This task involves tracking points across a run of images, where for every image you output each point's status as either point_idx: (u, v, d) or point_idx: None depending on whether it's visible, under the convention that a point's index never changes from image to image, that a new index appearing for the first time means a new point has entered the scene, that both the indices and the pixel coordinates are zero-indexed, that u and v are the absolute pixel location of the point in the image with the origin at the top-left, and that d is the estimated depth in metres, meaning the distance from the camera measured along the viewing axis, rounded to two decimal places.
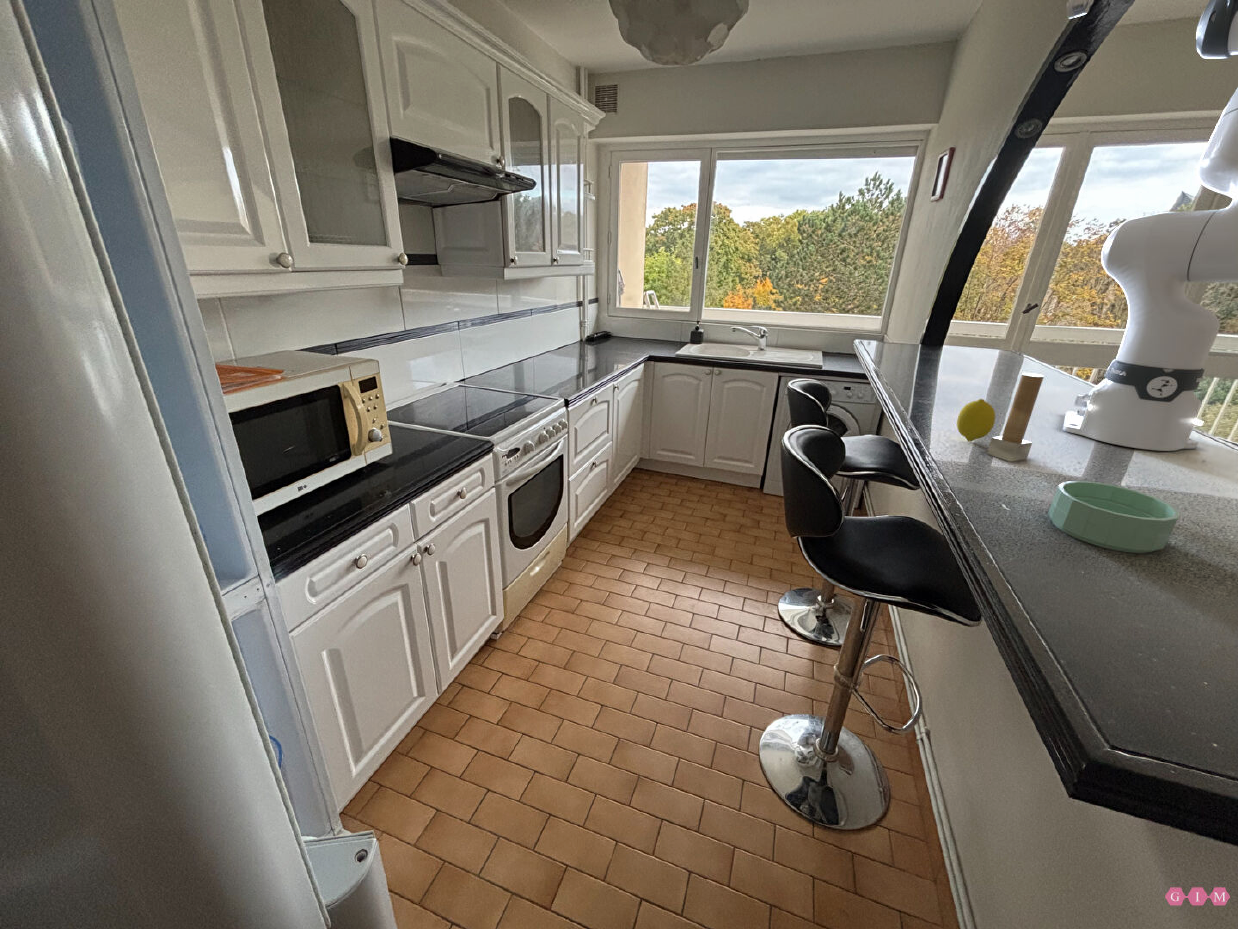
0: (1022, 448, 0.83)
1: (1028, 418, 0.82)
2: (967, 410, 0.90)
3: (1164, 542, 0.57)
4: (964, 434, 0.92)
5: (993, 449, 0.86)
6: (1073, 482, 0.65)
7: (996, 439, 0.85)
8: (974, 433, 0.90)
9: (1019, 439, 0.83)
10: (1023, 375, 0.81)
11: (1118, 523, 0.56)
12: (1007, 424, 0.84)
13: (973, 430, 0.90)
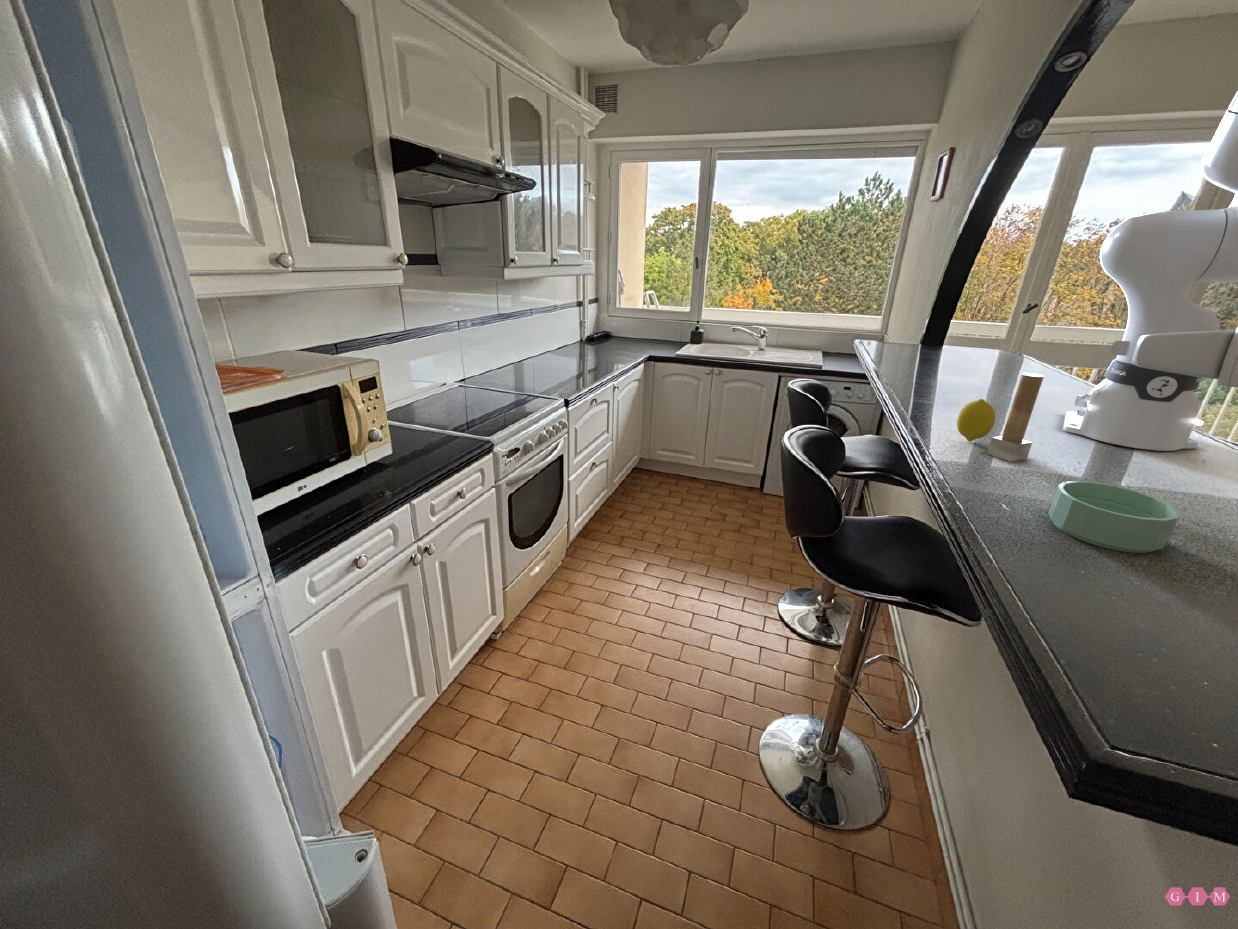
0: (1022, 448, 0.83)
1: (1028, 418, 0.82)
2: (967, 410, 0.90)
3: (1164, 542, 0.57)
4: (964, 434, 0.92)
5: (993, 449, 0.86)
6: (1073, 482, 0.65)
7: (996, 439, 0.85)
8: (974, 433, 0.90)
9: (1019, 439, 0.83)
10: (1023, 375, 0.81)
11: (1118, 523, 0.56)
12: (1007, 424, 0.84)
13: (973, 430, 0.90)
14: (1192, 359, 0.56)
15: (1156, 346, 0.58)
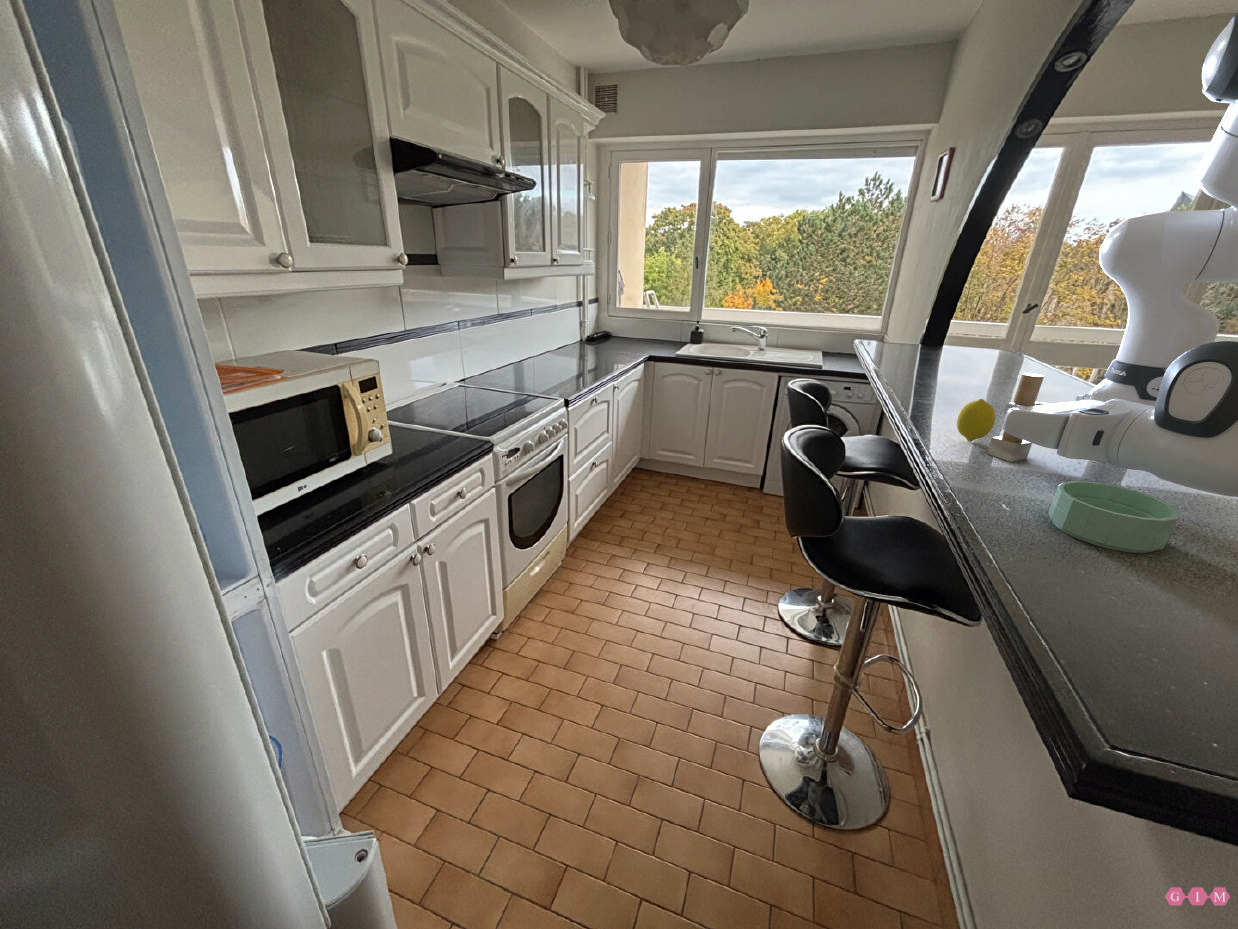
0: (1022, 448, 0.83)
1: None
2: (967, 410, 0.90)
3: (1164, 542, 0.57)
4: (964, 434, 0.92)
5: (993, 449, 0.86)
6: (1073, 482, 0.65)
7: (996, 439, 0.85)
8: (974, 433, 0.90)
9: (1019, 439, 0.83)
10: (1023, 375, 0.81)
11: (1118, 523, 0.56)
12: None
13: (973, 430, 0.90)
14: (1040, 433, 0.72)
15: (1018, 419, 0.74)
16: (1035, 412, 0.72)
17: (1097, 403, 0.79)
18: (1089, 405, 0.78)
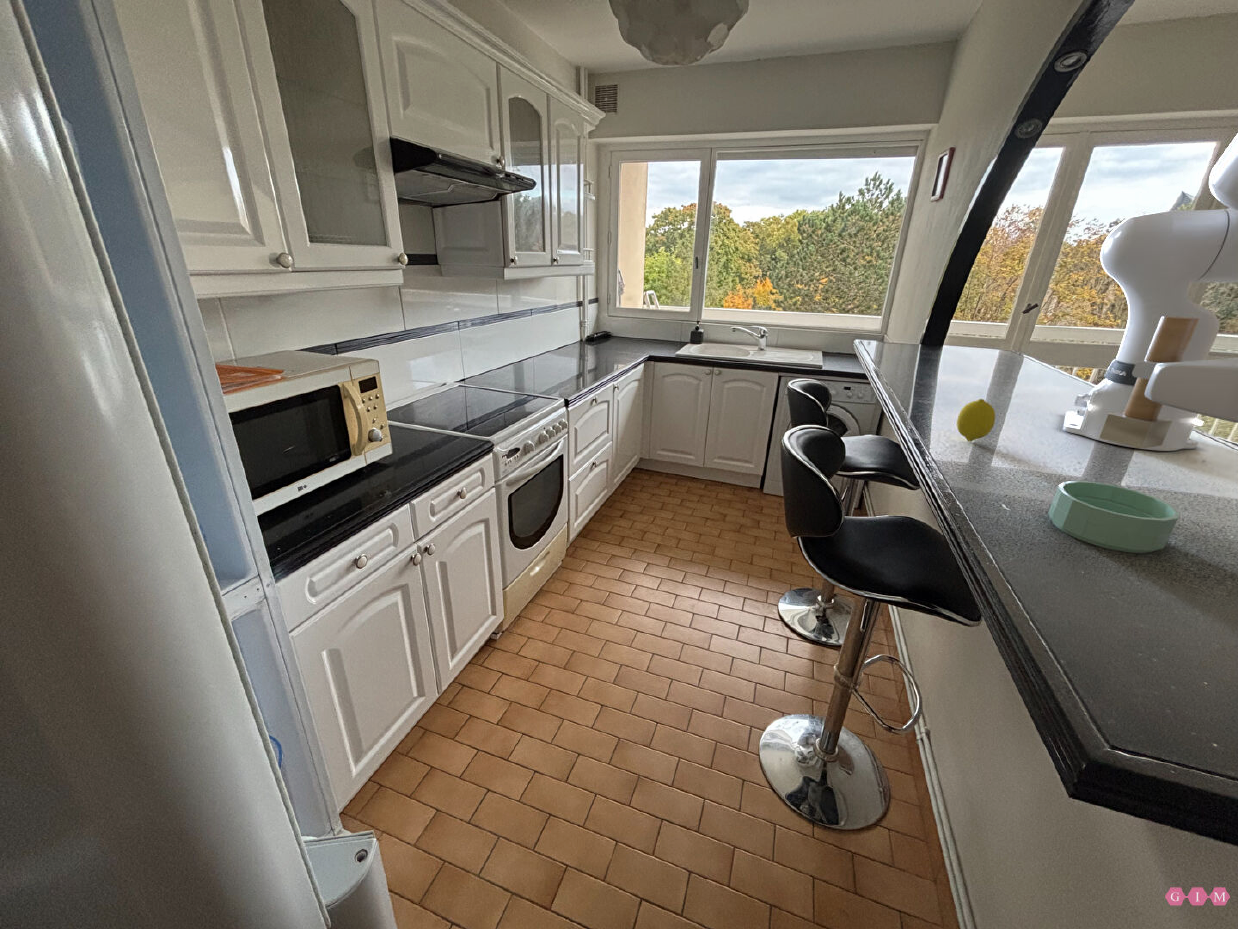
0: (1159, 429, 0.56)
1: None
2: (967, 410, 0.90)
3: (1164, 542, 0.57)
4: (964, 434, 0.92)
5: (1110, 431, 0.59)
6: (1073, 482, 0.65)
7: (1116, 416, 0.58)
8: (974, 433, 0.90)
9: (1153, 416, 0.56)
10: (1165, 318, 0.54)
11: (1118, 523, 0.56)
12: (1134, 393, 0.57)
13: (973, 430, 0.90)
14: (1222, 399, 0.45)
15: (1178, 379, 0.47)
16: (1212, 365, 0.45)
17: None
18: None
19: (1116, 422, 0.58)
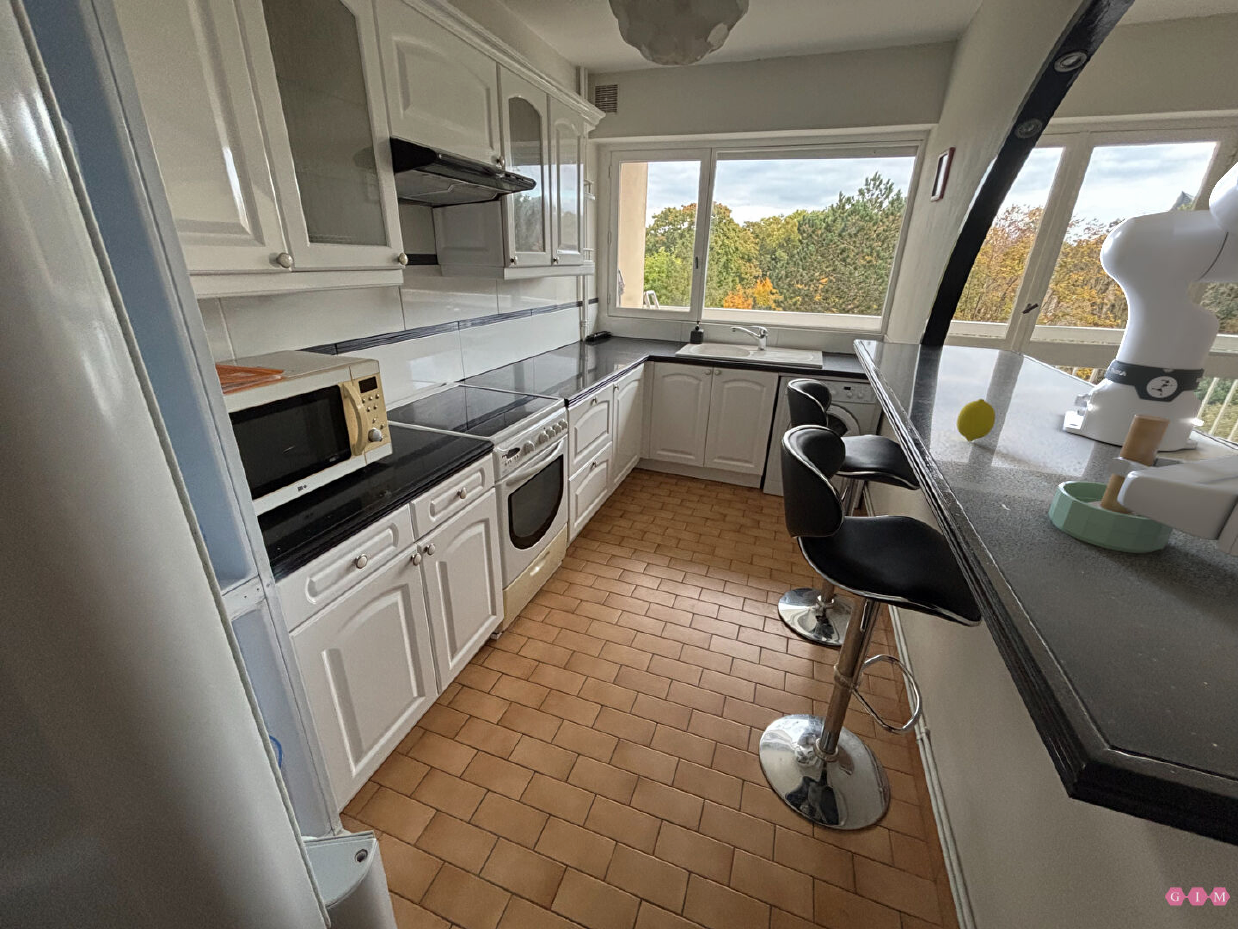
0: None
1: None
2: (967, 410, 0.90)
3: (1164, 542, 0.57)
4: (964, 434, 0.92)
5: None
6: (1073, 482, 0.65)
7: None
8: (974, 433, 0.90)
9: None
10: (1138, 418, 0.56)
11: (1118, 523, 0.56)
12: (1110, 486, 0.59)
13: (973, 430, 0.90)
14: (1189, 516, 0.47)
15: (1148, 491, 0.49)
16: (1180, 483, 0.47)
17: None
18: None
19: None
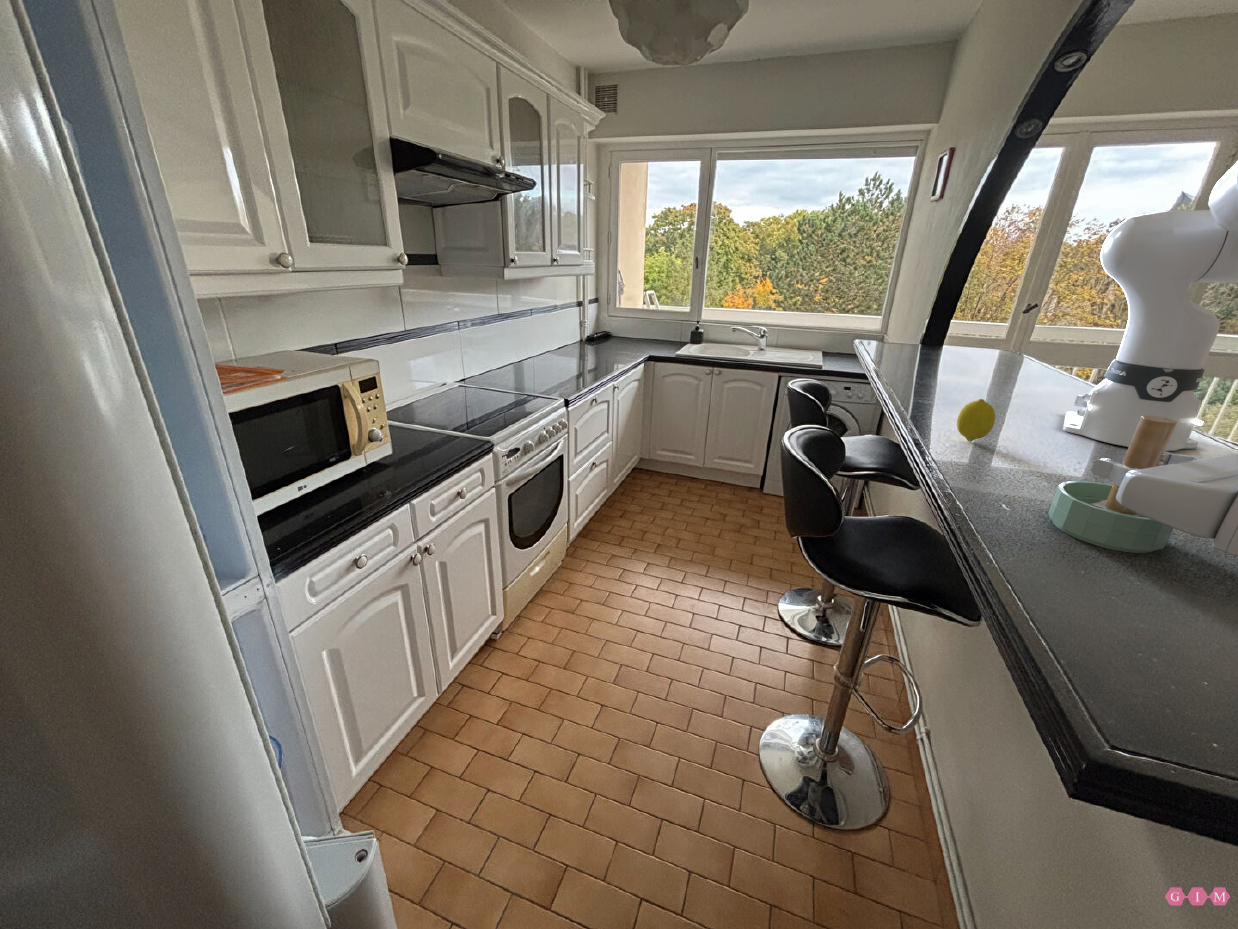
0: None
1: None
2: (967, 410, 0.90)
3: (1164, 542, 0.57)
4: (964, 434, 0.92)
5: None
6: (1073, 482, 0.65)
7: (1098, 507, 0.60)
8: (974, 433, 0.90)
9: None
10: (1145, 420, 0.56)
11: (1118, 523, 0.56)
12: (1116, 487, 0.59)
13: (973, 430, 0.90)
14: (1186, 515, 0.47)
15: (1146, 490, 0.50)
16: (1177, 481, 0.48)
17: None
18: None
19: None
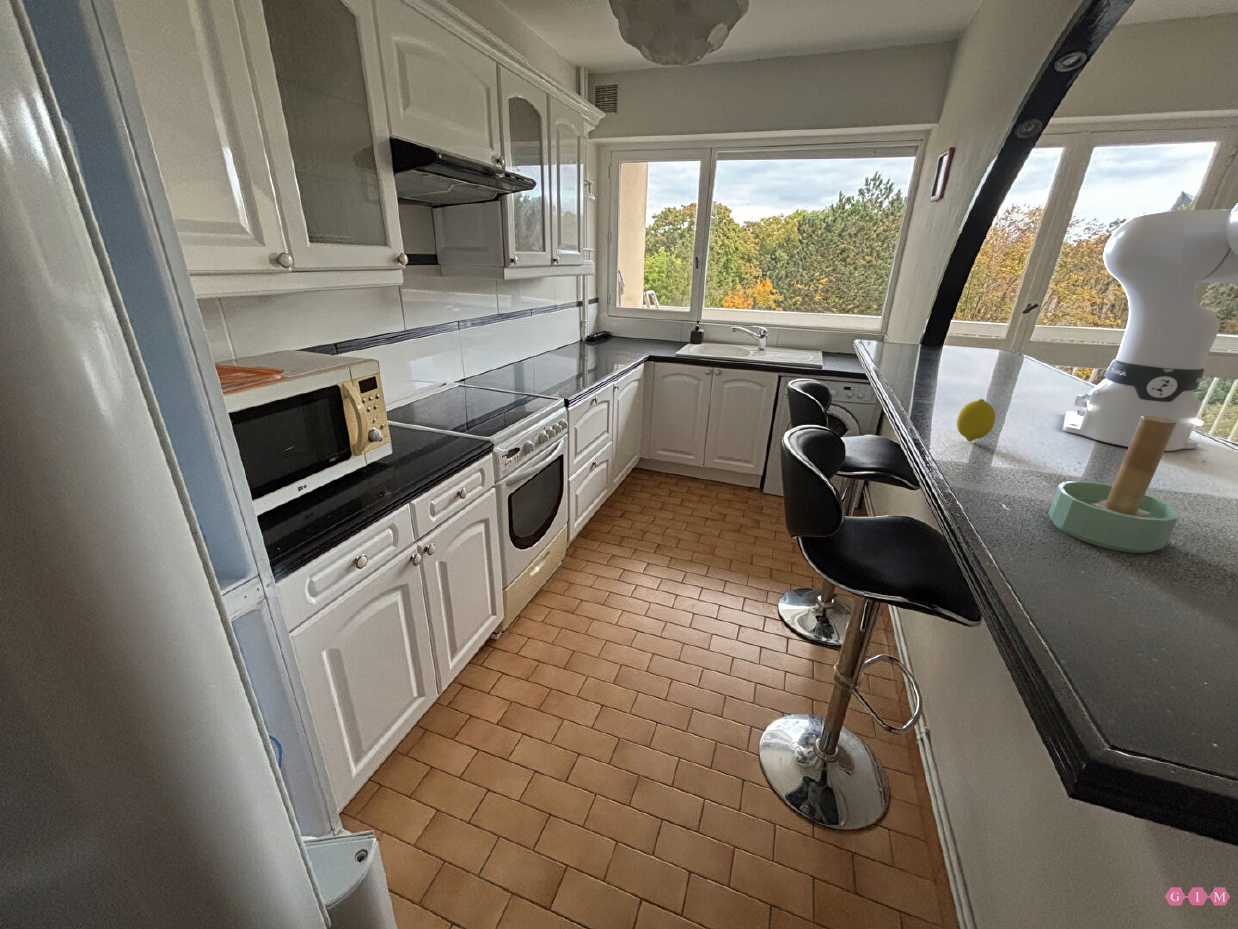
0: None
1: (1150, 480, 0.57)
2: (967, 410, 0.90)
3: (1164, 542, 0.57)
4: (964, 434, 0.92)
5: None
6: (1073, 482, 0.65)
7: (1098, 507, 0.60)
8: (974, 433, 0.90)
9: (1134, 510, 0.58)
10: (1145, 420, 0.56)
11: (1118, 523, 0.56)
12: (1116, 487, 0.59)
13: (973, 430, 0.90)
14: None
15: None
16: None
17: None
18: None
19: None
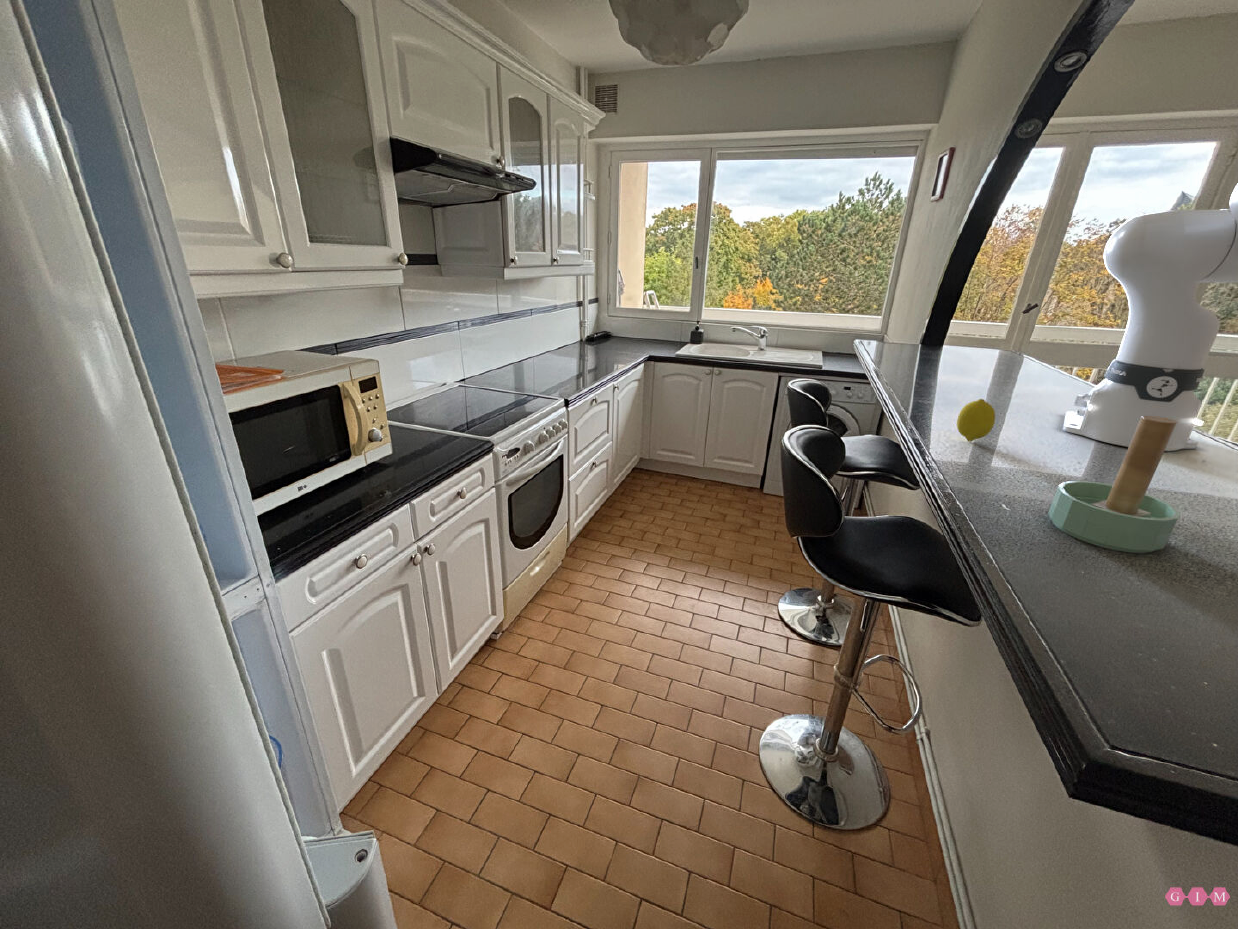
0: None
1: (1150, 480, 0.57)
2: (967, 410, 0.90)
3: (1164, 542, 0.57)
4: (964, 434, 0.92)
5: None
6: (1073, 482, 0.65)
7: (1098, 507, 0.60)
8: (974, 433, 0.90)
9: (1134, 510, 0.58)
10: (1145, 420, 0.56)
11: (1118, 523, 0.56)
12: (1116, 487, 0.59)
13: (973, 430, 0.90)
14: None
15: None
16: None
17: None
18: None
19: None
